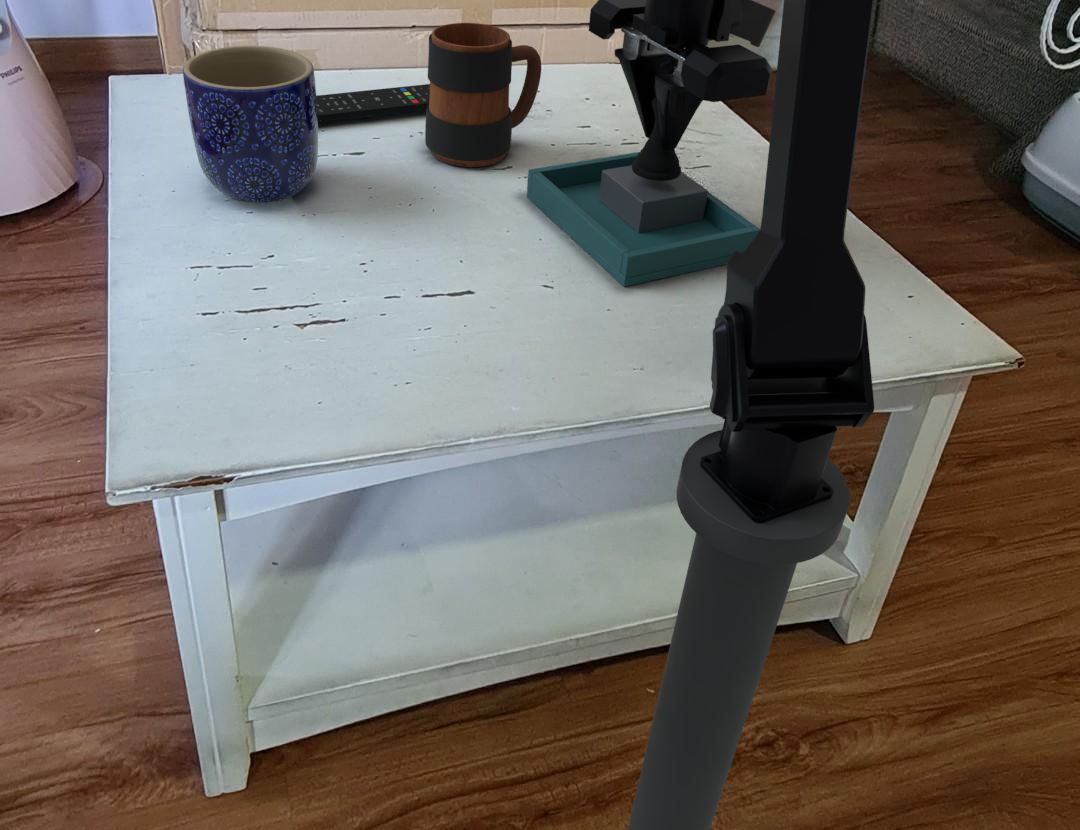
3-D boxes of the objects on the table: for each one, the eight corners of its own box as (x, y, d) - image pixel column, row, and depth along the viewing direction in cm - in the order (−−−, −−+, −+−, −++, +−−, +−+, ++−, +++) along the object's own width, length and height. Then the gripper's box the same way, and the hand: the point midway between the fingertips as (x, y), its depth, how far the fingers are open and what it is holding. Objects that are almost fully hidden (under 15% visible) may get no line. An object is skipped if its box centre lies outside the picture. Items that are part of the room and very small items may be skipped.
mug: (554, 158, 101) (564, 42, 94) (444, 174, 97) (446, 53, 90) (517, 127, 107) (523, 15, 100) (412, 140, 103) (411, 23, 95)
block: (703, 220, 91) (708, 190, 89) (638, 233, 88) (642, 202, 86) (660, 188, 96) (665, 159, 94) (598, 200, 93) (601, 169, 91)
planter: (228, 224, 86) (211, 97, 79) (182, 176, 93) (162, 55, 86) (343, 197, 91) (336, 76, 85) (291, 153, 98) (281, 38, 91)
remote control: (468, 110, 110) (468, 98, 109) (249, 136, 101) (247, 123, 100) (450, 93, 114) (450, 81, 113) (236, 116, 104) (235, 103, 104)
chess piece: (678, 184, 87) (695, 69, 81) (628, 177, 88) (642, 63, 82) (682, 165, 91) (699, 53, 85) (634, 158, 91) (648, 47, 85)
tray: (754, 258, 88) (761, 229, 86) (624, 287, 82) (628, 257, 81) (646, 176, 100) (650, 149, 98) (526, 197, 94) (528, 169, 92)
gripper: (846, -21, 75) (799, 173, 85) (703, -78, 88) (676, 96, 98) (727, -11, 71) (692, 192, 80) (594, -73, 83) (577, 109, 93)
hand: (660, 143), depth 88 cm, fingers closed on chess piece, 2 cm apart
